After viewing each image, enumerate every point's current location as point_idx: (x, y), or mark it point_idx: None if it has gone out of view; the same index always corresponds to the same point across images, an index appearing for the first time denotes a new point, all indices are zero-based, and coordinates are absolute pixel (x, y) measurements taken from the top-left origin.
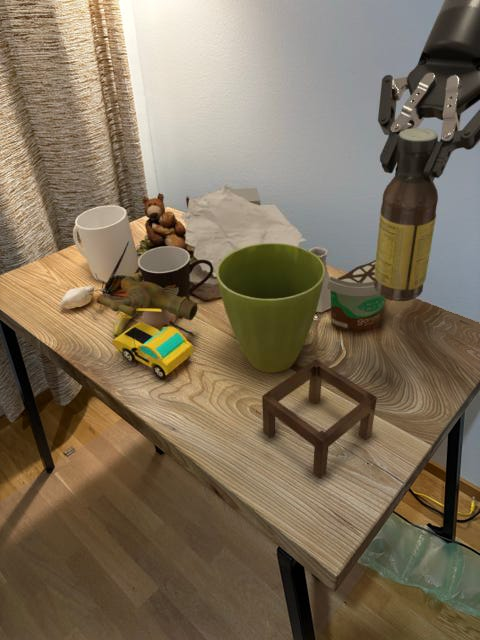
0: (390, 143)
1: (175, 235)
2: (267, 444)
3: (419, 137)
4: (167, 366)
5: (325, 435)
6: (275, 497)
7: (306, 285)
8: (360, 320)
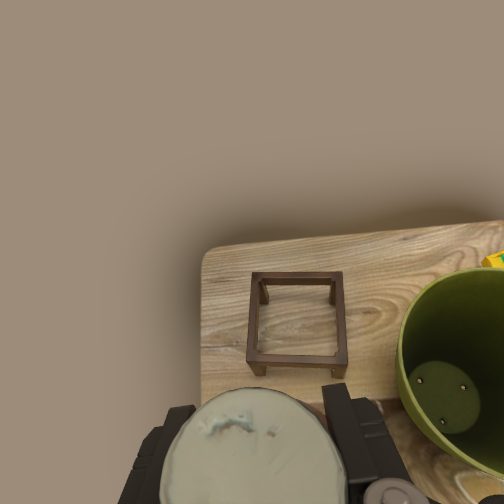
0: (363, 436)
1: None
2: (324, 290)
3: (220, 437)
4: (485, 258)
5: (254, 278)
6: (275, 257)
7: (488, 467)
8: None
